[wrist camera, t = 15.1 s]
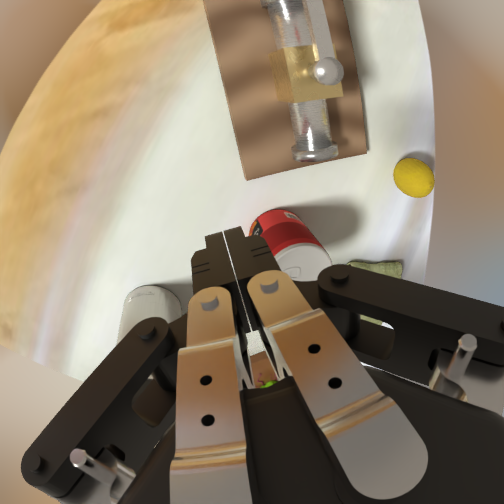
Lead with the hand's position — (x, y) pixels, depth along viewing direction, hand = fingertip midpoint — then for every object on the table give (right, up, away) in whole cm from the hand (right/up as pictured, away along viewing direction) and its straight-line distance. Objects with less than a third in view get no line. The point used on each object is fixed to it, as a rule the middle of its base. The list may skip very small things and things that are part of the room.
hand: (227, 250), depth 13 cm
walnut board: (+6, +22, +21) cm, 30 cm away
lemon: (+23, +13, +30) cm, 40 cm away
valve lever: (+7, +22, +9) cm, 24 cm away
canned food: (+4, +3, +31) cm, 32 cm away
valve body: (+6, +22, +21) cm, 30 cm away
